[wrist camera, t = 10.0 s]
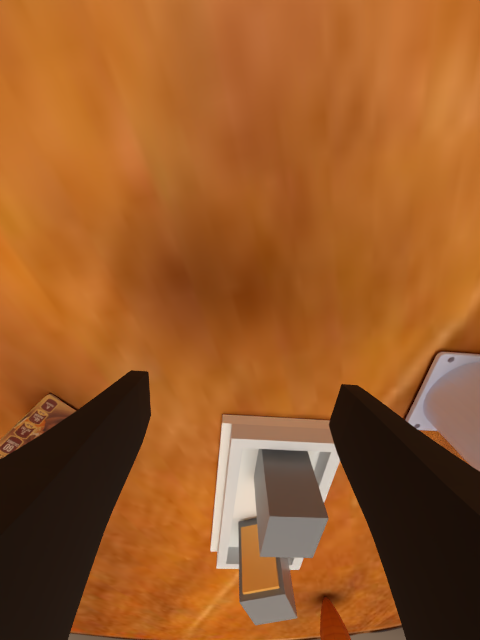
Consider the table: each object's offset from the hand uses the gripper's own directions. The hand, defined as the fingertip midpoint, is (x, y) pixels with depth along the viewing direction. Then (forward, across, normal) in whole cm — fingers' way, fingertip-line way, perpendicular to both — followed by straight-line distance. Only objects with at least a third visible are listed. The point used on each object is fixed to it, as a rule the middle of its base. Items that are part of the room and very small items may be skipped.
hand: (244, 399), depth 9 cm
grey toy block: (+8, -5, +14) cm, 17 cm away
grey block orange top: (+8, -5, +26) cm, 27 cm away
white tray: (+9, -5, +20) cm, 23 cm away
